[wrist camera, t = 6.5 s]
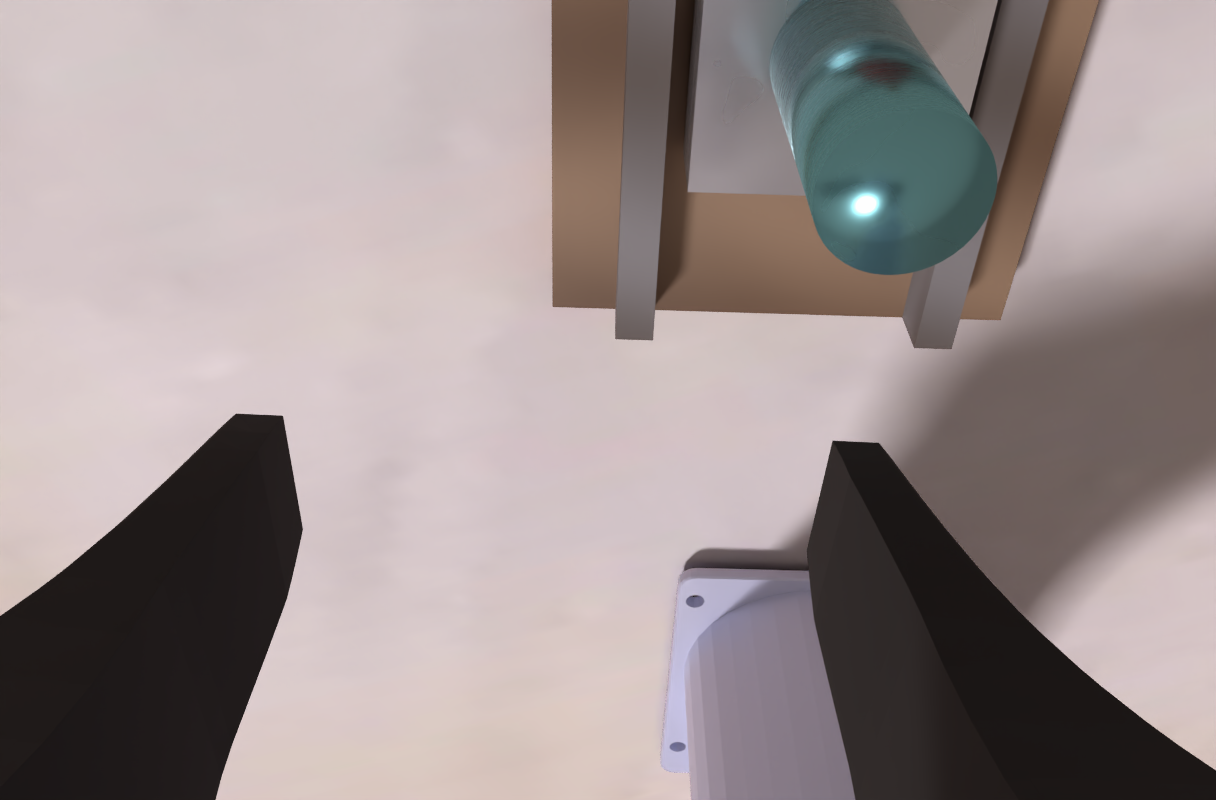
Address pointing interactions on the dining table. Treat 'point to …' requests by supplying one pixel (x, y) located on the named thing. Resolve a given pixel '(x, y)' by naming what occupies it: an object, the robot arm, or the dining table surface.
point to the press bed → (758, 223)
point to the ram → (847, 119)
